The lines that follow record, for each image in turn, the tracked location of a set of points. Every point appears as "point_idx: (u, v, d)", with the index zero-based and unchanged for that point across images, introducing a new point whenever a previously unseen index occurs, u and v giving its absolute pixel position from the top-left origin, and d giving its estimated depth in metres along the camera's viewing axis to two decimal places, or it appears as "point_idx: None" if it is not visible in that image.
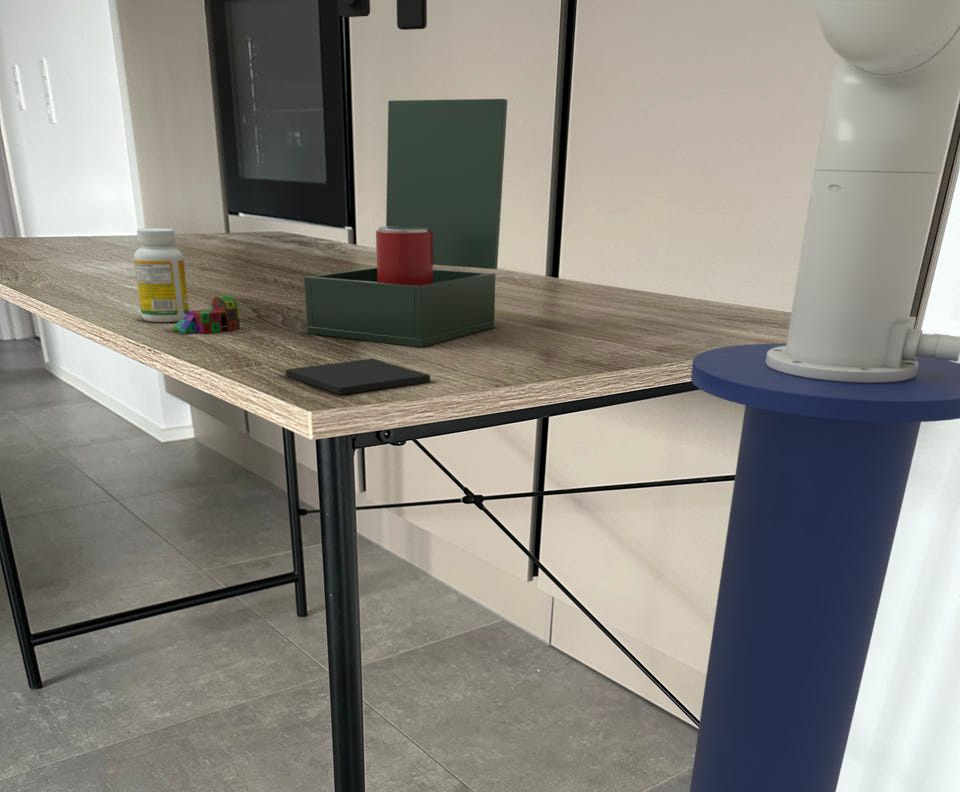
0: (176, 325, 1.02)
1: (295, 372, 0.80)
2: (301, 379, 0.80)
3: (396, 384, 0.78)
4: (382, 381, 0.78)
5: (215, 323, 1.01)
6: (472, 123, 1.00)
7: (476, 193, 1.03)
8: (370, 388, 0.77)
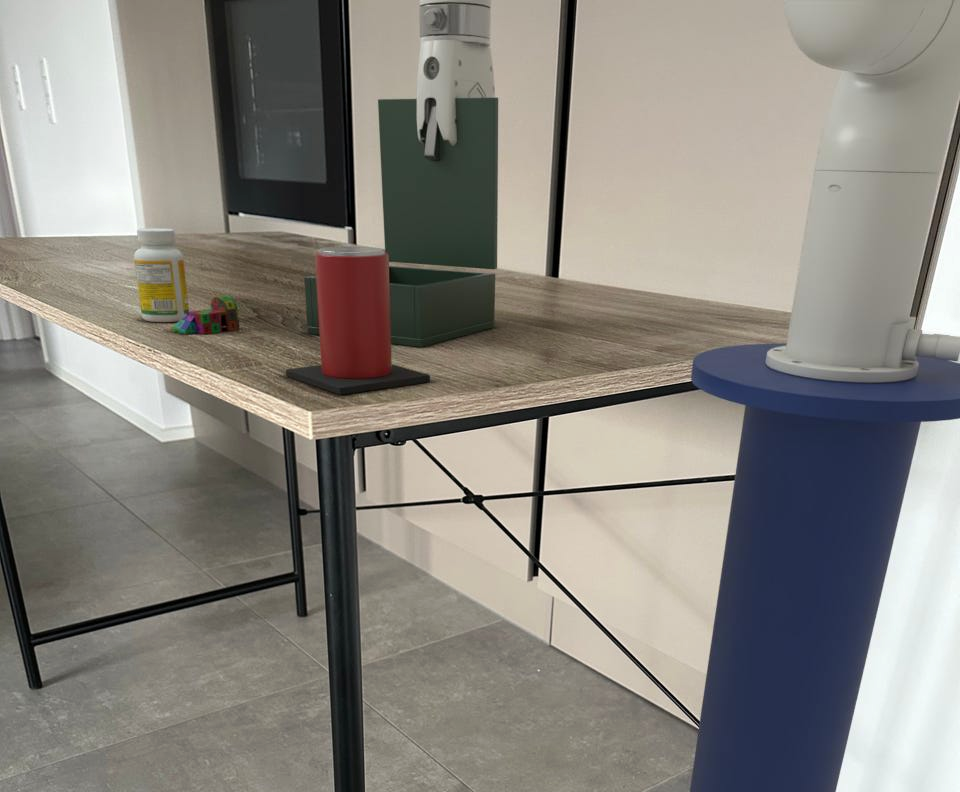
0: (176, 326, 1.01)
1: (295, 372, 0.80)
2: (301, 379, 0.80)
3: (396, 384, 0.78)
4: (382, 381, 0.78)
5: (215, 323, 1.01)
6: (464, 122, 0.99)
7: (472, 193, 1.02)
8: (370, 388, 0.77)
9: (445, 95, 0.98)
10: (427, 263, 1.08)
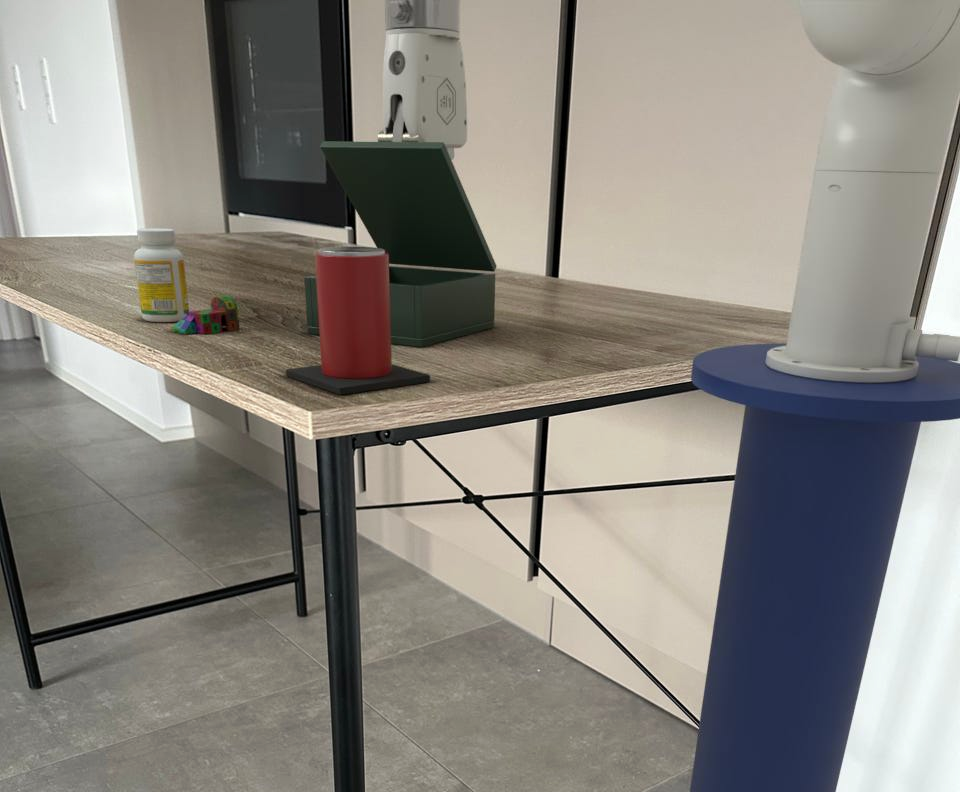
0: (176, 326, 1.01)
1: (295, 372, 0.80)
2: (301, 379, 0.80)
3: (396, 384, 0.78)
4: (382, 381, 0.78)
5: (215, 323, 1.01)
6: (417, 166, 0.94)
7: (449, 219, 0.99)
8: (370, 388, 0.77)
9: (411, 91, 0.93)
10: (427, 266, 1.08)
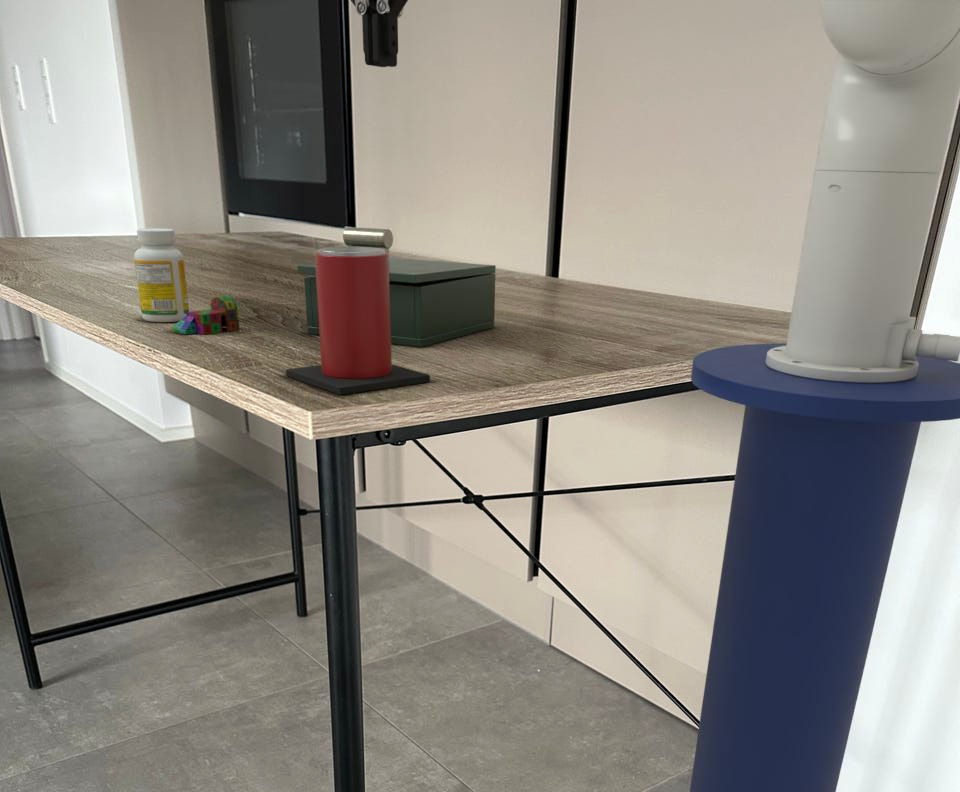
0: (175, 326, 1.01)
1: (295, 372, 0.80)
2: (301, 379, 0.80)
3: (396, 384, 0.78)
4: (382, 381, 0.78)
5: (215, 324, 1.01)
6: None
7: None
8: (370, 388, 0.77)
9: None
10: None
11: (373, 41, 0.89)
